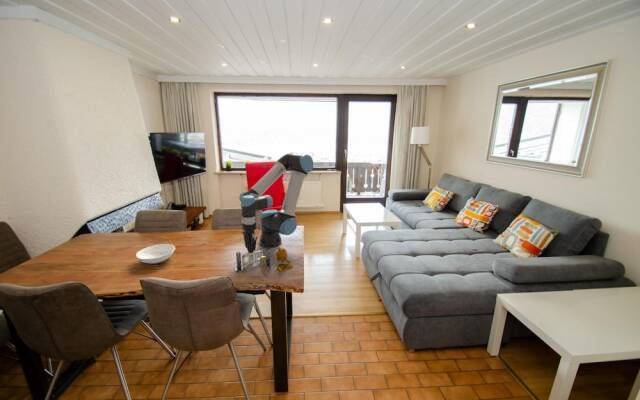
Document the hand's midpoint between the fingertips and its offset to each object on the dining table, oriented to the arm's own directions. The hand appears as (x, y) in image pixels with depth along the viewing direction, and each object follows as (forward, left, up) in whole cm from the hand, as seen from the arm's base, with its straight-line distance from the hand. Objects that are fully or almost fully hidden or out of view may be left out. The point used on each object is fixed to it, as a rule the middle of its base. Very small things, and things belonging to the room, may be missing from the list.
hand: (250, 260), depth 155 cm
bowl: (-16, -53, -2) cm, 56 cm away
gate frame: (+6, +1, -2) cm, 7 cm away
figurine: (+10, +18, -2) cm, 20 cm away
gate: (+4, +1, -1) cm, 4 cm away
